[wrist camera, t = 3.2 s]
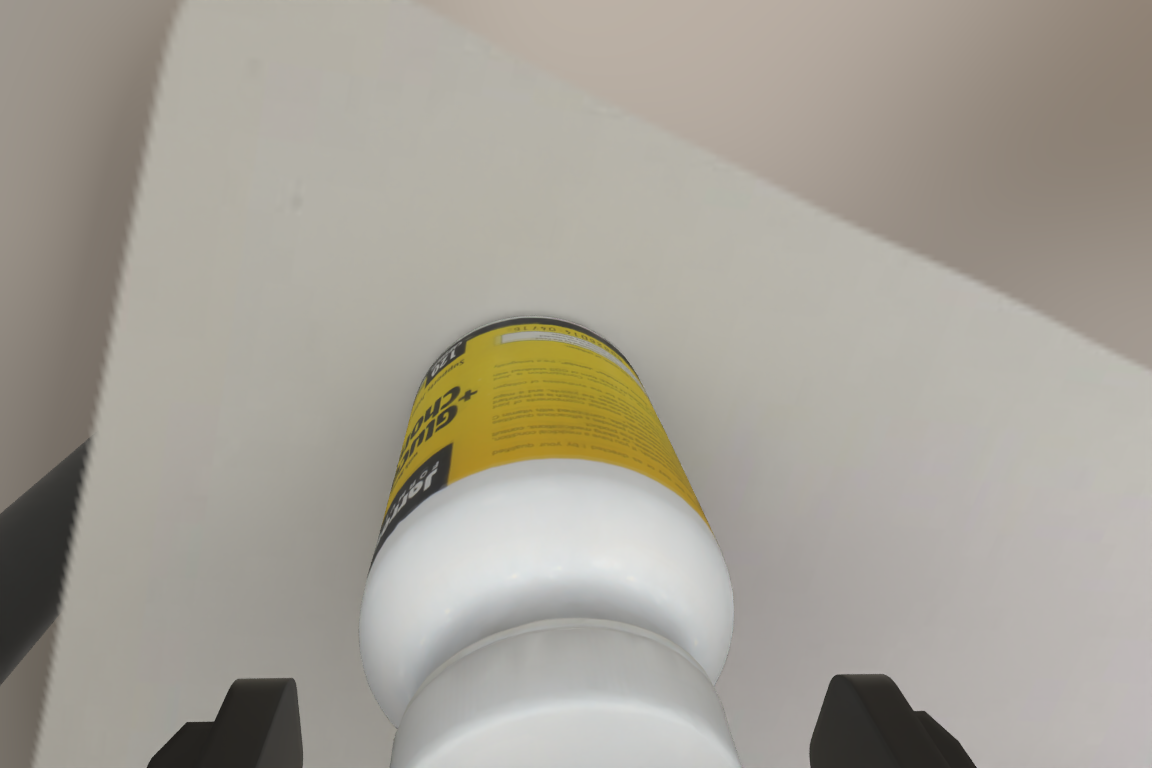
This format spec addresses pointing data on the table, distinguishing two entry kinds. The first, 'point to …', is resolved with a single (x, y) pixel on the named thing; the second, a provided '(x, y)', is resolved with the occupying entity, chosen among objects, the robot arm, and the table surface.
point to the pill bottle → (545, 569)
